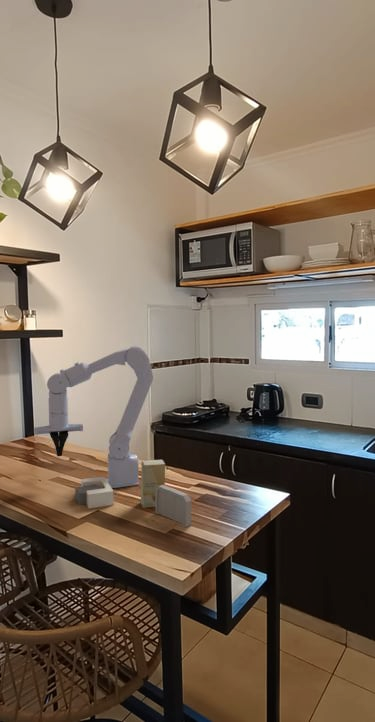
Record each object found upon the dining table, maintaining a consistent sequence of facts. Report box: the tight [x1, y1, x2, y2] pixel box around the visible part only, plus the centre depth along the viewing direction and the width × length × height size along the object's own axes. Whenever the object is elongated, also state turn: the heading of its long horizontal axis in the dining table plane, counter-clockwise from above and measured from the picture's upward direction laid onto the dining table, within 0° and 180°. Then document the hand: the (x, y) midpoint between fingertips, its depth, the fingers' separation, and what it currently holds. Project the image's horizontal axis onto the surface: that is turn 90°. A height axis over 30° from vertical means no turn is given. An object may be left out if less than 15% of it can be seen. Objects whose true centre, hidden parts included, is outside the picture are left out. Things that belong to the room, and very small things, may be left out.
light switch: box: [154, 484, 192, 528], centre depth 117 cm, size 2×12×8 cm, turn 45°
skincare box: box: [140, 459, 166, 508], centre depth 126 cm, size 6×4×12 cm
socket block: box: [80, 476, 115, 509], centre depth 131 cm, size 7×13×4 cm, turn 22°
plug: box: [74, 484, 99, 505], centre depth 130 cm, size 7×5×4 cm
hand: (59, 455), depth 140 cm, fingers closed
